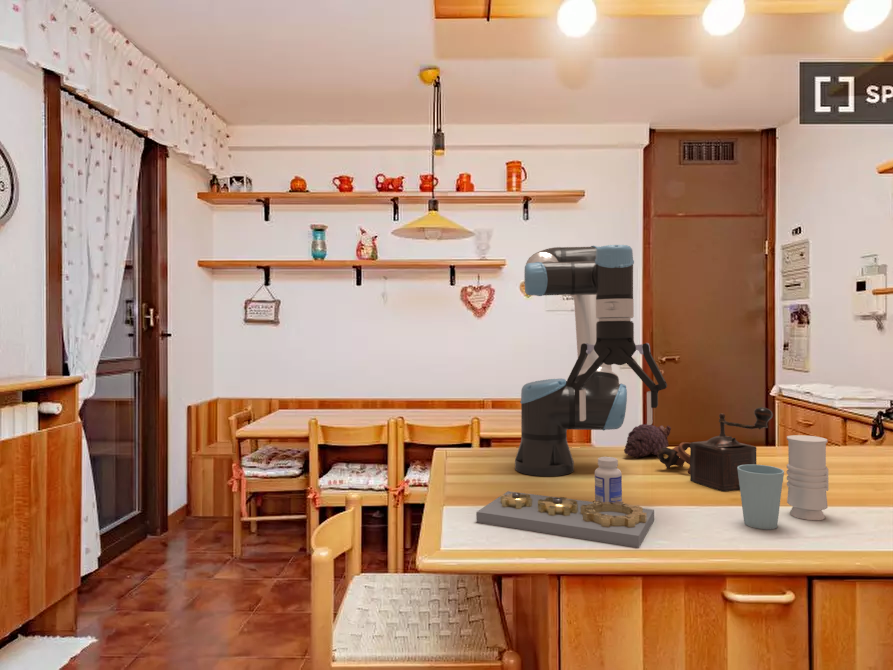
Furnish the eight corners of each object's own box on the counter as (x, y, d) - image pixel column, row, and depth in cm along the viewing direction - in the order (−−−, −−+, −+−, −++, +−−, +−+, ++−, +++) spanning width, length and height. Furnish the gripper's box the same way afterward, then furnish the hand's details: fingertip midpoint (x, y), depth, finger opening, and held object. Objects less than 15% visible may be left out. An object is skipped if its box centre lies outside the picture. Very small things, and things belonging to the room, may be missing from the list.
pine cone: (643, 463, 162) (623, 430, 165) (624, 474, 170) (605, 442, 173) (688, 439, 169) (668, 409, 173) (667, 451, 178) (649, 421, 181)
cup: (729, 524, 112) (730, 468, 112) (748, 515, 117) (748, 462, 117) (773, 534, 106) (773, 476, 106) (790, 525, 111) (790, 469, 111)
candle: (828, 523, 112) (828, 443, 112) (785, 517, 116) (785, 439, 115) (828, 513, 118) (828, 437, 118) (787, 508, 121) (787, 434, 121)
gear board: (476, 522, 115) (476, 511, 115) (508, 500, 129) (508, 491, 129) (638, 547, 101) (638, 535, 101) (654, 520, 115) (654, 509, 115)
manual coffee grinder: (724, 492, 133) (724, 411, 133) (688, 481, 143) (688, 405, 143) (777, 485, 138) (777, 407, 138) (739, 474, 149) (738, 402, 148)
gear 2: (572, 522, 108) (572, 514, 108) (589, 504, 119) (589, 497, 118) (640, 531, 103) (640, 523, 103) (651, 512, 113) (651, 505, 113)
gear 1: (532, 512, 114) (532, 501, 114) (545, 502, 121) (545, 491, 121) (571, 518, 110) (571, 506, 110) (582, 506, 117) (582, 496, 117)
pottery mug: (691, 467, 159) (704, 443, 155) (702, 491, 151) (716, 467, 147) (648, 456, 159) (660, 432, 155) (656, 480, 150) (669, 455, 147)
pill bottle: (622, 502, 126) (622, 456, 126) (621, 510, 121) (620, 462, 121) (596, 500, 128) (595, 455, 128) (593, 507, 123) (593, 460, 123)
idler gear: (495, 506, 118) (495, 495, 118) (507, 498, 124) (507, 488, 124) (525, 510, 115) (525, 499, 115) (536, 502, 121) (536, 491, 121)
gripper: (551, 320, 127) (552, 421, 127) (677, 318, 116) (678, 428, 117) (560, 321, 134) (561, 416, 134) (680, 319, 123) (680, 422, 123)
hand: (615, 422), depth 125 cm, fingers open, 13 cm apart
